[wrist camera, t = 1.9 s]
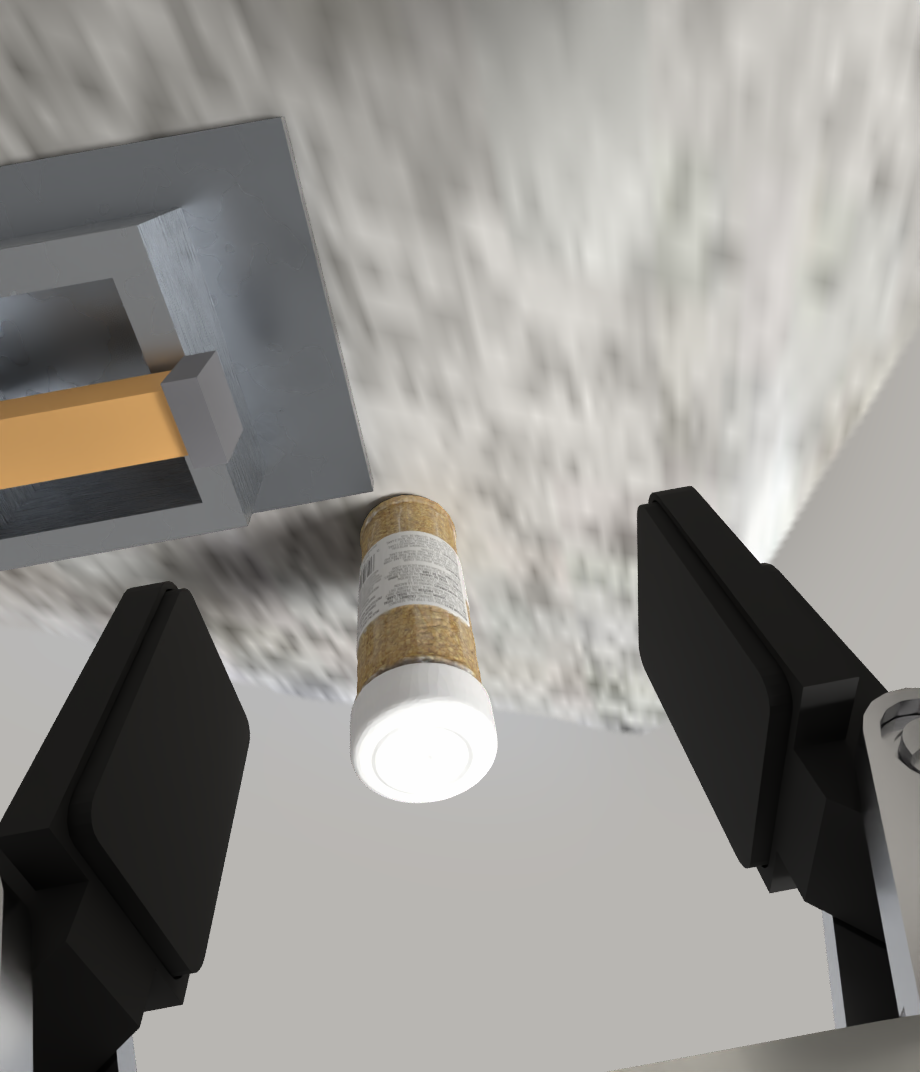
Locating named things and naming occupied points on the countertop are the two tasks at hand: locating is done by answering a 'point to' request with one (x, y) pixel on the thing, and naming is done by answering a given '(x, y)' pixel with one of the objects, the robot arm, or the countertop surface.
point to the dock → (173, 331)
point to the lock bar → (121, 424)
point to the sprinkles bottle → (416, 660)
